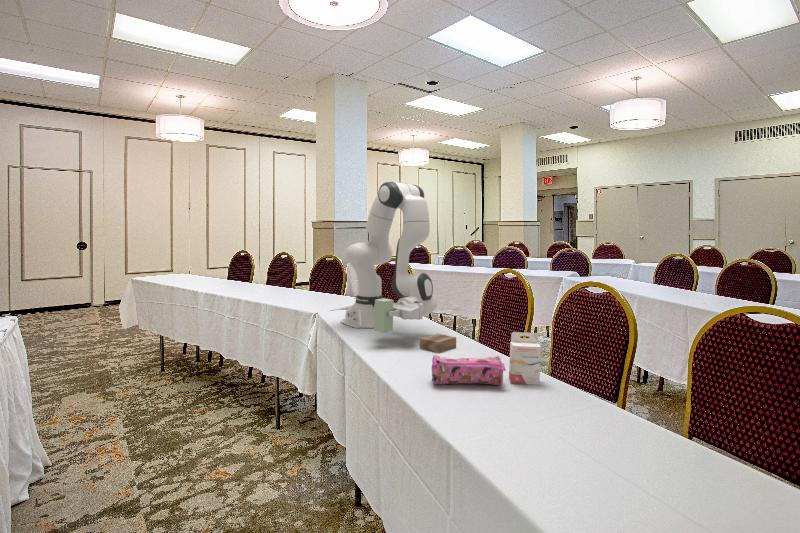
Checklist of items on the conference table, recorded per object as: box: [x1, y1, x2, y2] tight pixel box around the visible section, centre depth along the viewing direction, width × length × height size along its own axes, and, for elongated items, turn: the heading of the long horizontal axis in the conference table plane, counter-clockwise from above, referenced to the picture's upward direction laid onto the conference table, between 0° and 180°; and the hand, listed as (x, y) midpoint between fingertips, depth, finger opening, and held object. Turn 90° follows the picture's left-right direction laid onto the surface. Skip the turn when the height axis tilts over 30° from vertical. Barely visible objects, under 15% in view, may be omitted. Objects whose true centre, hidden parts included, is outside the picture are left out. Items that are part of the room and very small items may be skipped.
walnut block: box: [419, 333, 457, 354], centre depth 181 cm, size 9×11×4 cm
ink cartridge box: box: [508, 331, 542, 386], centre depth 143 cm, size 9×5×15 cm, turn 84°
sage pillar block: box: [374, 297, 394, 334], centre depth 182 cm, size 5×5×12 cm
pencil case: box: [431, 354, 507, 386], centre depth 141 cm, size 21×9×9 cm, turn 86°
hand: (382, 312), depth 181 cm, fingers closed on sage pillar block, 5 cm apart
